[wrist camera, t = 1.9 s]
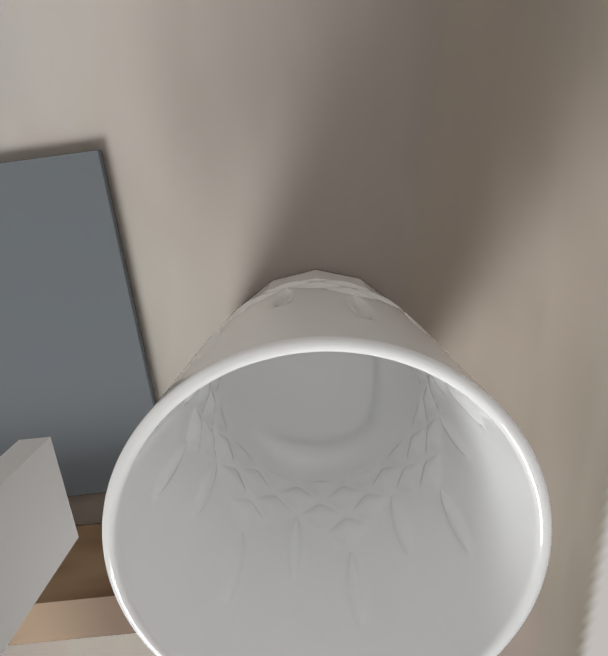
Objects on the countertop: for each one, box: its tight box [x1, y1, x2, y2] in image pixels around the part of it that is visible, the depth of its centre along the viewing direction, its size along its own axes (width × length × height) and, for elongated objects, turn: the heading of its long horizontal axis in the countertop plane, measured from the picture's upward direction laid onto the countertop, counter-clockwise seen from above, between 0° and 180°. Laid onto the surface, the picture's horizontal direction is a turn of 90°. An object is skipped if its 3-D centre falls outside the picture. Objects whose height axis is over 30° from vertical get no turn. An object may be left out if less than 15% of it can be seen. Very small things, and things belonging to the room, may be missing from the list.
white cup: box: [102, 270, 552, 656], centre depth 14 cm, size 8×8×10 cm
